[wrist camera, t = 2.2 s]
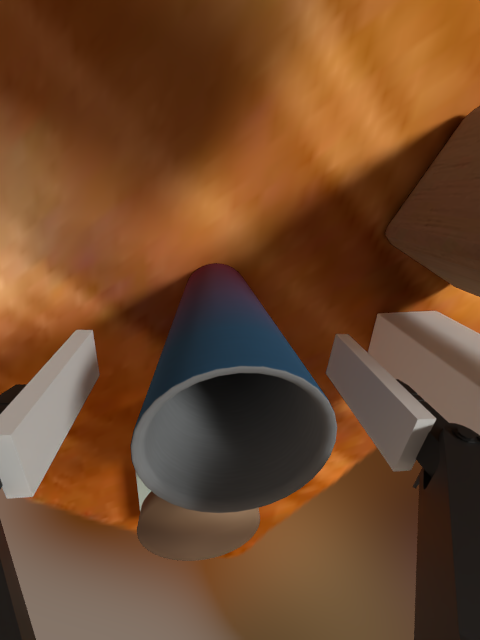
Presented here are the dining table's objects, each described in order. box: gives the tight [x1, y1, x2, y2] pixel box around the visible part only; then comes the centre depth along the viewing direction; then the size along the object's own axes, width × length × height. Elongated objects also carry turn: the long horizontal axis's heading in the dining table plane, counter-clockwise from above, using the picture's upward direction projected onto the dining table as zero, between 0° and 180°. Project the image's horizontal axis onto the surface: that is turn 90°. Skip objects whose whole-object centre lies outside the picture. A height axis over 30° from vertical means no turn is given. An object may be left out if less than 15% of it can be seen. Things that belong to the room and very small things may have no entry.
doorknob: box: [137, 491, 260, 561], centre depth 21 cm, size 7×7×12 cm
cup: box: [131, 263, 337, 513], centre depth 16 cm, size 7×7×15 cm
